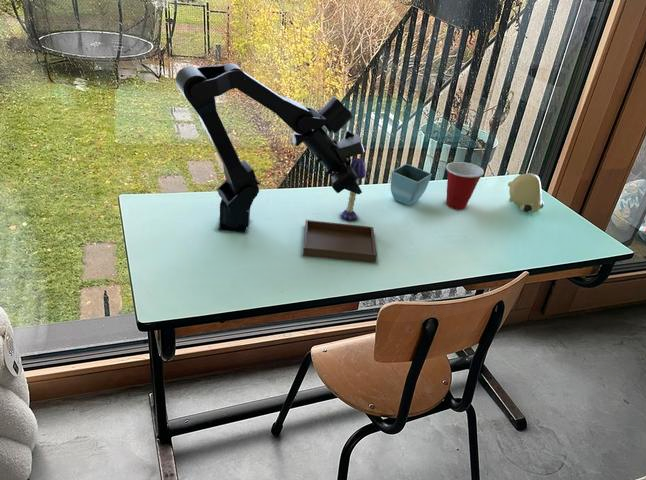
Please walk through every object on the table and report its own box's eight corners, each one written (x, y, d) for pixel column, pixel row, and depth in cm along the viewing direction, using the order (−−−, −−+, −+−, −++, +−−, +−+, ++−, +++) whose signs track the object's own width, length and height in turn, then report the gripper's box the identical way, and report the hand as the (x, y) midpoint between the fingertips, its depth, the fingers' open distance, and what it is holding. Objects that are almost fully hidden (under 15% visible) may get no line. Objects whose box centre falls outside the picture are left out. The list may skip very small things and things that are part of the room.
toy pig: (507, 218, 173) (531, 211, 163) (498, 180, 173) (522, 170, 164) (531, 214, 177) (556, 206, 168) (523, 177, 178) (547, 167, 168)
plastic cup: (448, 192, 173) (457, 156, 167) (479, 206, 169) (490, 169, 162) (430, 203, 166) (439, 165, 159) (462, 217, 161) (473, 179, 154)
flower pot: (425, 201, 166) (432, 173, 161) (411, 211, 160) (418, 182, 155) (400, 190, 169) (406, 163, 164) (385, 200, 163) (390, 171, 158)
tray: (302, 255, 132) (303, 247, 131) (304, 227, 143) (305, 219, 142) (375, 263, 135) (376, 255, 133) (371, 234, 145) (373, 226, 144)
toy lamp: (360, 217, 152) (371, 159, 143) (353, 224, 148) (363, 165, 139) (345, 211, 153) (354, 154, 144) (337, 218, 150) (345, 159, 140)
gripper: (354, 140, 128) (392, 187, 137) (342, 111, 143) (377, 155, 152) (315, 170, 131) (355, 214, 140) (308, 138, 146) (344, 180, 155)
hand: (359, 189), depth 146 cm, fingers closed on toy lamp, 4 cm apart
